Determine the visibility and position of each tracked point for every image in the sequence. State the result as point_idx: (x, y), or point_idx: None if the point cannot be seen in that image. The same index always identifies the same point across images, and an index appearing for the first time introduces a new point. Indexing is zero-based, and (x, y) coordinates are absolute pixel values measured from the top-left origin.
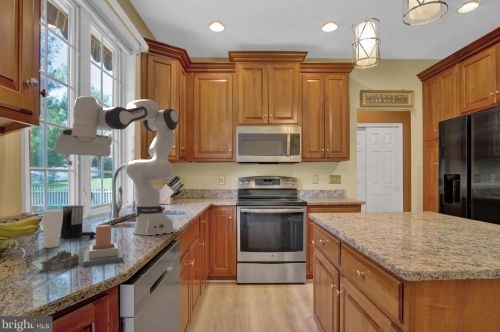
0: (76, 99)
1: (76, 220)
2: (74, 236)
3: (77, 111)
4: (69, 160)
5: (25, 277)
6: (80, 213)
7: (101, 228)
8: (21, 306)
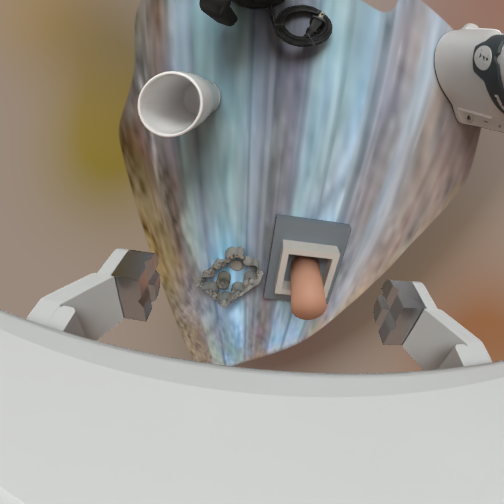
0: None
1: None
2: (264, 6)
3: None
4: (119, 321)
5: (188, 297)
6: None
7: (300, 317)
8: None
